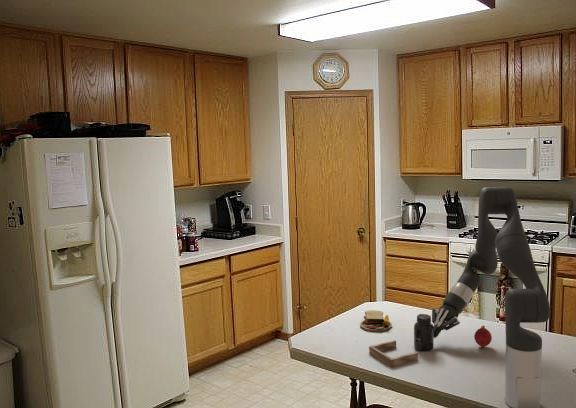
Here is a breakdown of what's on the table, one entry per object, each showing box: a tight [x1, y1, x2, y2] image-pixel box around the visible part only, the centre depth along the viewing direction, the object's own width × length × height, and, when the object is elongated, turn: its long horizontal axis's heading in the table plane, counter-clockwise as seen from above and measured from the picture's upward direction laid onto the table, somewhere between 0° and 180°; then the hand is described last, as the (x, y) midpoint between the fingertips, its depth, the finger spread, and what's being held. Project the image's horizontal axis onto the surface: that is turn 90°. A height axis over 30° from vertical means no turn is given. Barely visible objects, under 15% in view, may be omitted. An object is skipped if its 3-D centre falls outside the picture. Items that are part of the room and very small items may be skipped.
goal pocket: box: [368, 339, 419, 368], centre depth 183 cm, size 11×13×2 cm
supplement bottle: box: [413, 313, 435, 353], centre depth 188 cm, size 7×7×12 cm
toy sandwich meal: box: [359, 309, 393, 333], centre depth 212 cm, size 12×14×5 cm
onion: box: [473, 324, 493, 348], centre depth 187 cm, size 6×6×8 cm
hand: (432, 336), depth 189 cm, fingers closed
